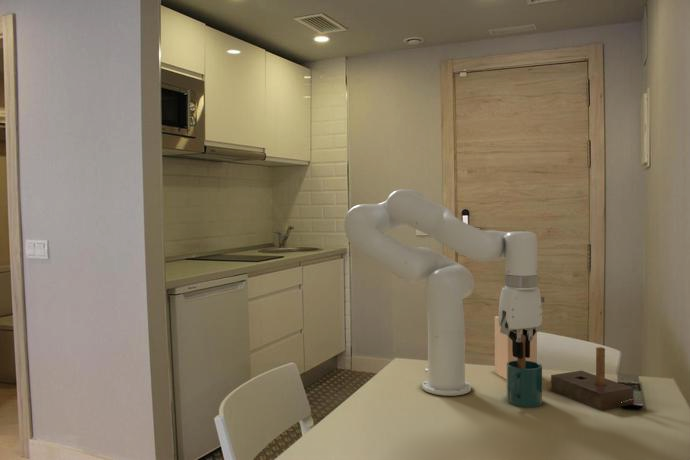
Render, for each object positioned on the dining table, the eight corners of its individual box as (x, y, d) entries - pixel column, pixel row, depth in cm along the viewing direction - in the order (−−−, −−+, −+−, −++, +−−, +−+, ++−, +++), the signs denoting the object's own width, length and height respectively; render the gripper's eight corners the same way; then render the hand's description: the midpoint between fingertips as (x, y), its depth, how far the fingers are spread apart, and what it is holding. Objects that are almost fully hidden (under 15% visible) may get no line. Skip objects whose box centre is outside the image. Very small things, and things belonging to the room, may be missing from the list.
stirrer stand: (550, 390, 149) (550, 374, 149) (581, 385, 153) (581, 370, 153) (600, 410, 134) (600, 393, 134) (633, 404, 137) (633, 387, 137)
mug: (514, 393, 146) (514, 358, 146) (546, 400, 141) (546, 363, 141) (495, 406, 137) (495, 368, 137) (529, 413, 132) (529, 374, 132)
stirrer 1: (517, 387, 142) (517, 334, 141) (521, 386, 142) (521, 334, 142) (520, 388, 141) (521, 336, 140) (525, 388, 141) (525, 335, 141)
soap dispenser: (508, 381, 157) (508, 300, 156) (494, 372, 166) (494, 296, 165) (551, 378, 159) (551, 299, 159) (535, 369, 168) (535, 294, 167)
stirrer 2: (595, 400, 141) (596, 347, 140) (600, 399, 141) (600, 346, 141) (600, 402, 139) (600, 348, 139) (604, 401, 140) (605, 348, 139)
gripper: (536, 278, 147) (536, 350, 148) (485, 282, 141) (485, 356, 142) (557, 281, 140) (557, 357, 141) (504, 285, 134) (504, 364, 135)
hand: (521, 356), depth 141 cm, fingers closed on stirrer 1, 1 cm apart
